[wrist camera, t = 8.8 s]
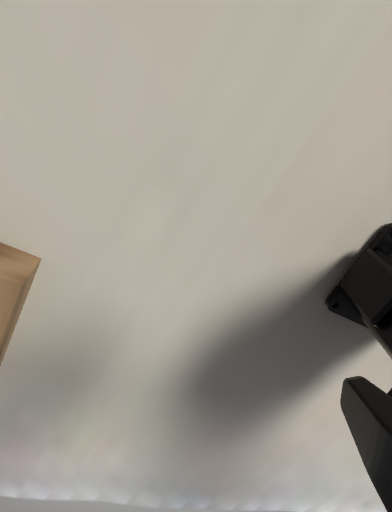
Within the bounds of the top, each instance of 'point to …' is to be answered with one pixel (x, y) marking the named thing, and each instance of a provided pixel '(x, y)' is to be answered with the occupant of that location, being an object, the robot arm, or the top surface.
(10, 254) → the walnut block
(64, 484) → the top surface
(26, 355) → the top surface
